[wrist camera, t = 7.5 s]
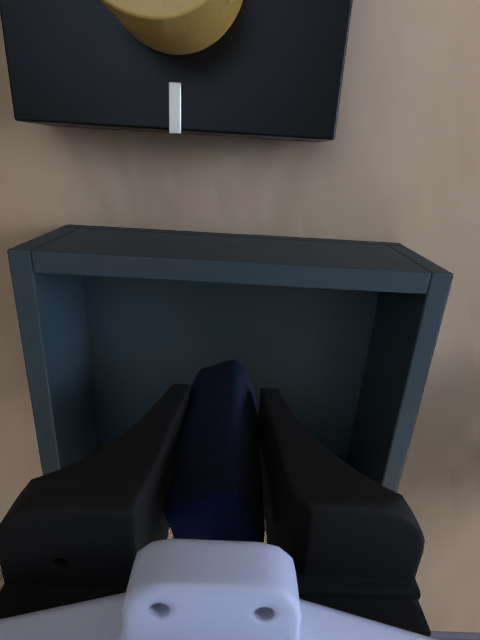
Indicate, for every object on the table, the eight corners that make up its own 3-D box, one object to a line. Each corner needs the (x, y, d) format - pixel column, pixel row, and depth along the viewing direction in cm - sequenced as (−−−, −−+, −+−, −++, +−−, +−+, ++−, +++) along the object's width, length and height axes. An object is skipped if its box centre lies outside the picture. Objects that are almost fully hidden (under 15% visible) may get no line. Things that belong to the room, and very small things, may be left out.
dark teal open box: (400, 242, 17) (455, 273, 12) (356, 457, 21) (386, 536, 16) (67, 224, 16) (6, 249, 12) (89, 445, 20) (49, 522, 16)
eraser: (259, 401, 16) (271, 558, 10) (205, 414, 17) (183, 575, 10) (245, 354, 16) (248, 491, 9) (189, 368, 16) (154, 511, 9)
